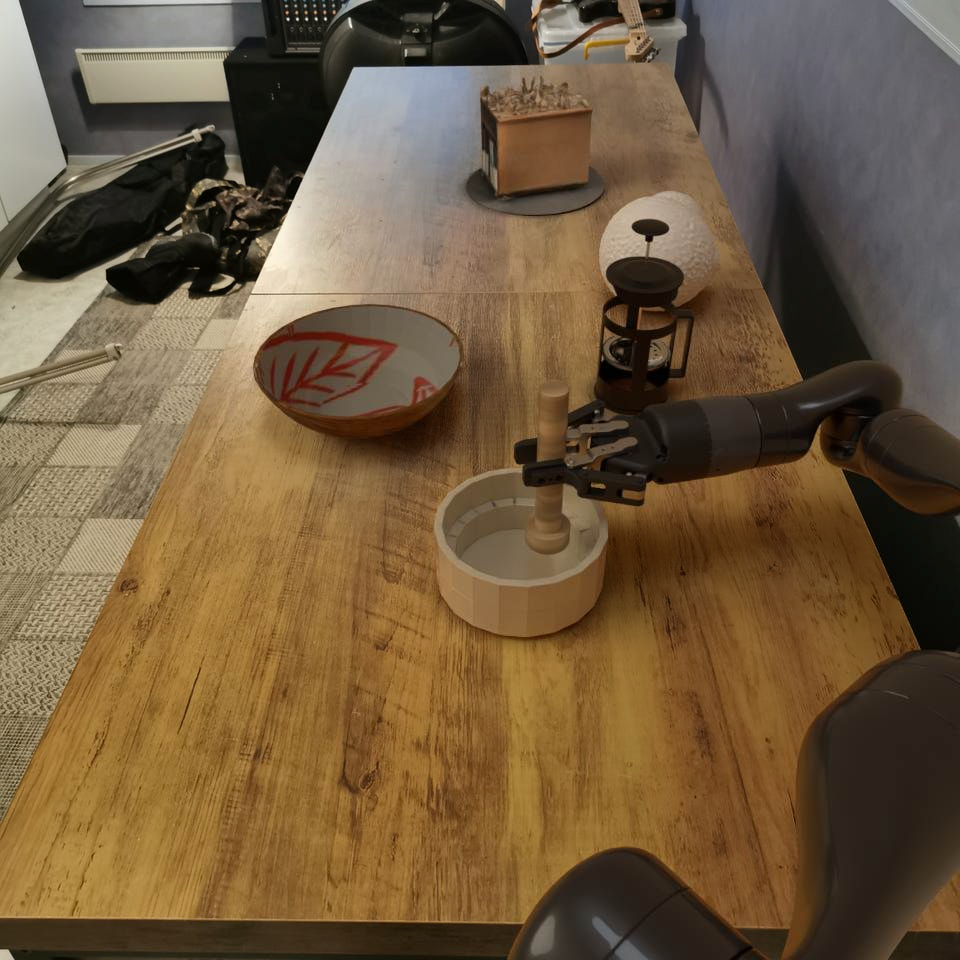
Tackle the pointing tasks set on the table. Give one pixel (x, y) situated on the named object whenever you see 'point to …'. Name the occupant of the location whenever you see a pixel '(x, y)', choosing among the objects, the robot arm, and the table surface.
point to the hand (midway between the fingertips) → (519, 464)
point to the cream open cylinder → (516, 557)
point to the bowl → (359, 368)
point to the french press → (635, 348)
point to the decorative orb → (665, 240)
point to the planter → (535, 151)
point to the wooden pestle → (547, 523)
